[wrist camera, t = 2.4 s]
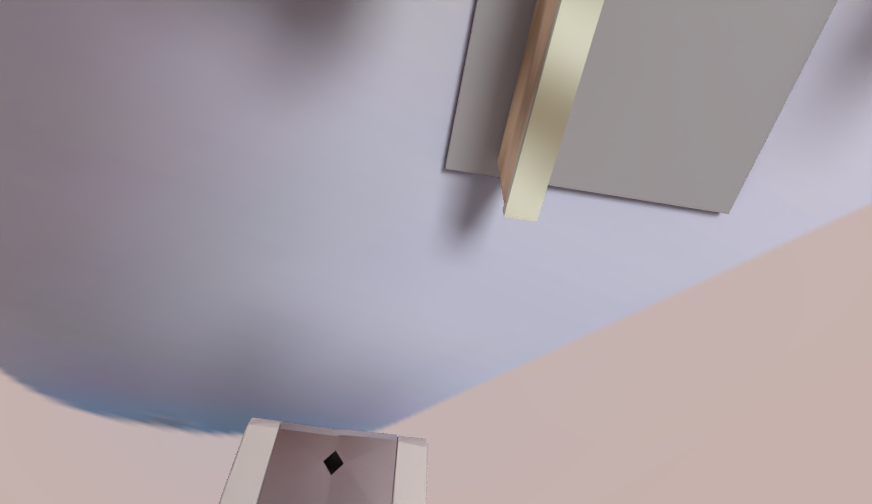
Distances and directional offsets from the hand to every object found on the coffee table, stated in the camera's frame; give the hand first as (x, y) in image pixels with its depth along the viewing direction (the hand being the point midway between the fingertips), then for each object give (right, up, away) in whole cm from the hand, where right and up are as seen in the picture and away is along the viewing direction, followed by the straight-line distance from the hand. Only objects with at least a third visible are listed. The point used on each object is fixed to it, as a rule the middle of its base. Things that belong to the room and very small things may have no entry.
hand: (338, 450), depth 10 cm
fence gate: (+6, +13, +16) cm, 21 cm away
